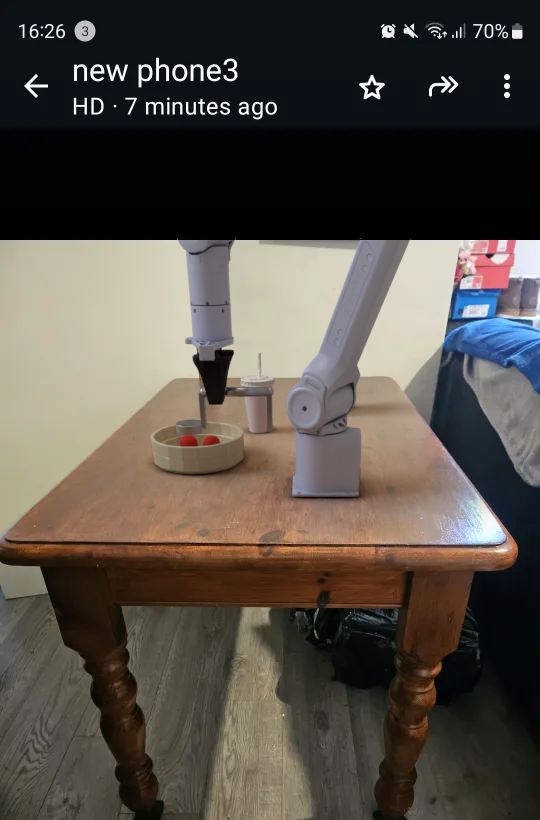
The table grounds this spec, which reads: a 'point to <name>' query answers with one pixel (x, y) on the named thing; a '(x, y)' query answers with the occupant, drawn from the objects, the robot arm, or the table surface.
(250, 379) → the smoothie
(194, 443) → the tomato
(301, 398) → the robot arm
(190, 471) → the bowl
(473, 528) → the table surface
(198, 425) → the bent metal rod stand
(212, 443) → the tomato
